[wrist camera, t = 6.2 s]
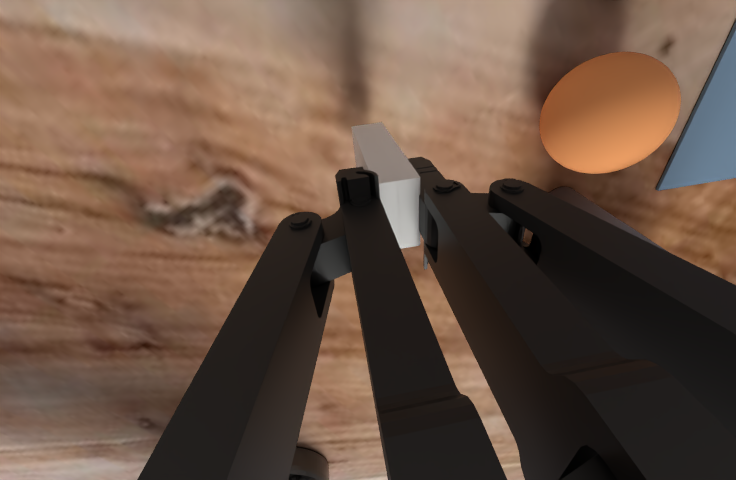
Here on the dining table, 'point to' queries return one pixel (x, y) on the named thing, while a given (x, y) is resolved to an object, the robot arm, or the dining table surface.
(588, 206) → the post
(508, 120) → the dining table surface
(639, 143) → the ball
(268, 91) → the dining table surface
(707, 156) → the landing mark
